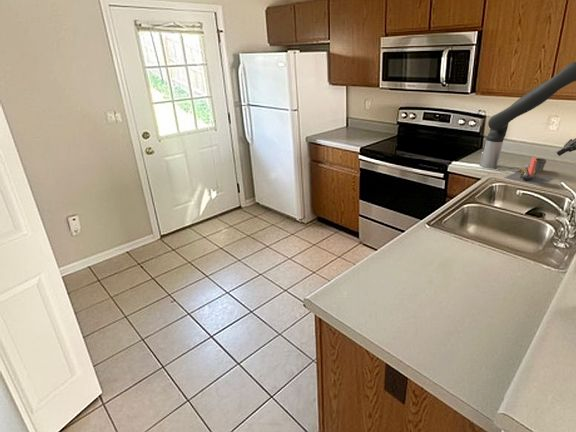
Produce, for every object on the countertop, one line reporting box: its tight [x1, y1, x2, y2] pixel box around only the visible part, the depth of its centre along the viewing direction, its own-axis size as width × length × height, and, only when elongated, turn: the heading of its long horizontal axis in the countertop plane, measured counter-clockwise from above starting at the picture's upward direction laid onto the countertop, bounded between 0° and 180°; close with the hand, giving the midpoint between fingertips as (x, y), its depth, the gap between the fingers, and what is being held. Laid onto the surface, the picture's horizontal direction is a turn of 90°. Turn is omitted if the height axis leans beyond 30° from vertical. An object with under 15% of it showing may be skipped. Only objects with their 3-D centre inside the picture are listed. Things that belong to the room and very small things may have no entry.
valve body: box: [520, 167, 536, 181], centre depth 210 cm, size 6×16×5 cm, turn 149°
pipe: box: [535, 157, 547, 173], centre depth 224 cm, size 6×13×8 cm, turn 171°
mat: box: [503, 170, 555, 187], centre depth 210 cm, size 19×21×1 cm
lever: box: [524, 156, 537, 176], centre depth 202 cm, size 16×4×8 cm, turn 154°
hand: (557, 154), depth 196 cm, fingers closed
